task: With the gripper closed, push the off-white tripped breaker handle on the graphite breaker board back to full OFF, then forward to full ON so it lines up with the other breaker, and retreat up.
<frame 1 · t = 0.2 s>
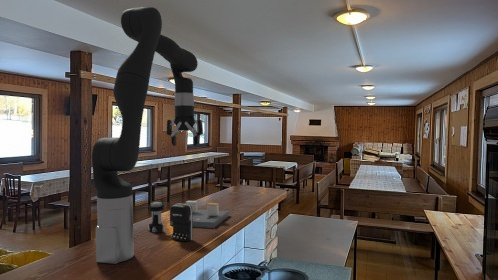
hand: (185, 145, 142), 29 cm above the counter, fingers open, 8 cm apart
breaker board: (200, 220, 138), on the counter
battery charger: (181, 240, 114), on the counter
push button: (155, 231, 124), on the counter
breaker handle: (212, 209, 136), point 5 cm above the counter, slide at 3.0 cm
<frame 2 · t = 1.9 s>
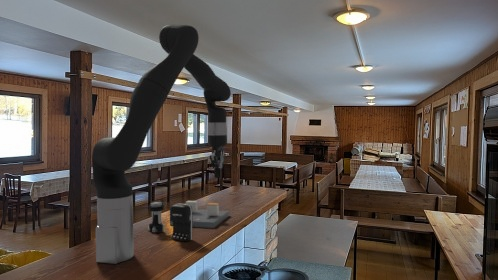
hand: (218, 177, 142), 16 cm above the counter, fingers closed
nothing on the counter moved.
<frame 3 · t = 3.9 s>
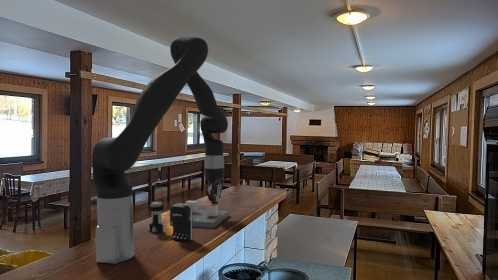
hand: (214, 210, 139), 3 cm above the counter, fingers closed
breaker handle: (211, 209, 135), point 5 cm above the counter, slide at 1.9 cm, touching gripper
everything else where it was.
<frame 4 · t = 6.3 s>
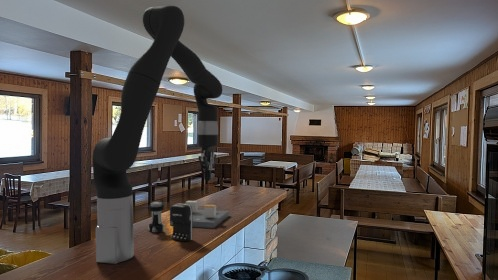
hand: (207, 180, 133), 16 cm above the counter, fingers closed
breaker handle: (210, 211, 133), point 5 cm above the counter, slide at -0.1 cm
everything else where it was.
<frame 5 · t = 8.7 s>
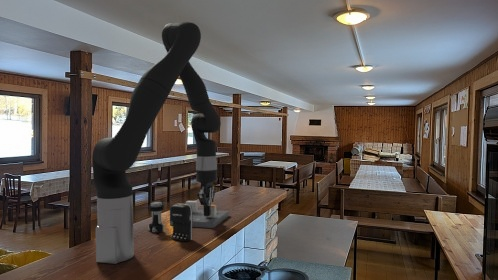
hand: (207, 215, 130), 4 cm above the counter, fingers closed
breaker handle: (210, 210, 134), point 5 cm above the counter, slide at 0.3 cm, touching gripper
everything else where it was.
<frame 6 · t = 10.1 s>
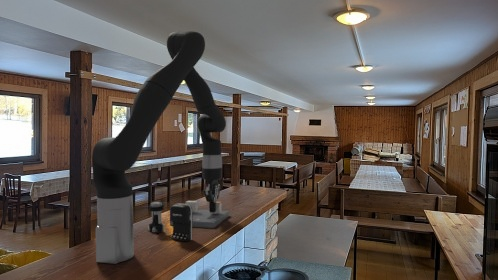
hand: (212, 211, 136), 4 cm above the counter, fingers closed
breaker handle: (215, 207, 139), point 5 cm above the counter, slide at 6.1 cm, touching gripper
everything else where it was.
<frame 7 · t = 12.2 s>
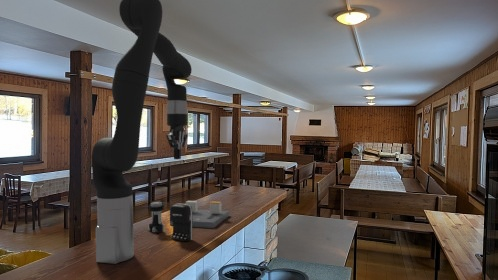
hand: (177, 159, 135), 24 cm above the counter, fingers closed
breaker handle: (215, 207, 139), point 5 cm above the counter, slide at 6.1 cm
everything else where it was.
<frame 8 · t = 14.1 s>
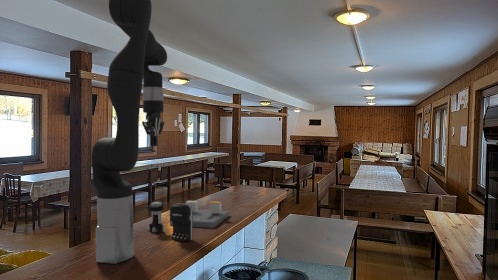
hand: (154, 146, 135), 29 cm above the counter, fingers closed
nothing on the counter moved.
at the end: breaker handle slide at 6.1 cm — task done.
